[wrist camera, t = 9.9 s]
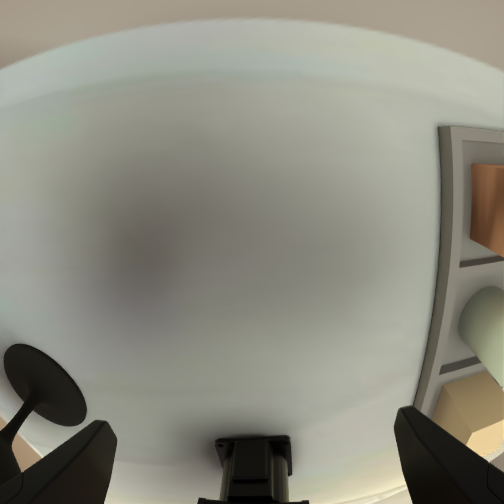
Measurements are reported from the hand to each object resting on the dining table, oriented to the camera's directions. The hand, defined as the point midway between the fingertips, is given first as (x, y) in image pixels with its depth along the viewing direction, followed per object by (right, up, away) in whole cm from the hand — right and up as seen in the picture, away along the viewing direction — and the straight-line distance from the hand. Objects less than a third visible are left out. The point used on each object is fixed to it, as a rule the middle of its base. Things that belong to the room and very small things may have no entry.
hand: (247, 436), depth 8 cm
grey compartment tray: (+18, +1, +12) cm, 21 cm away
